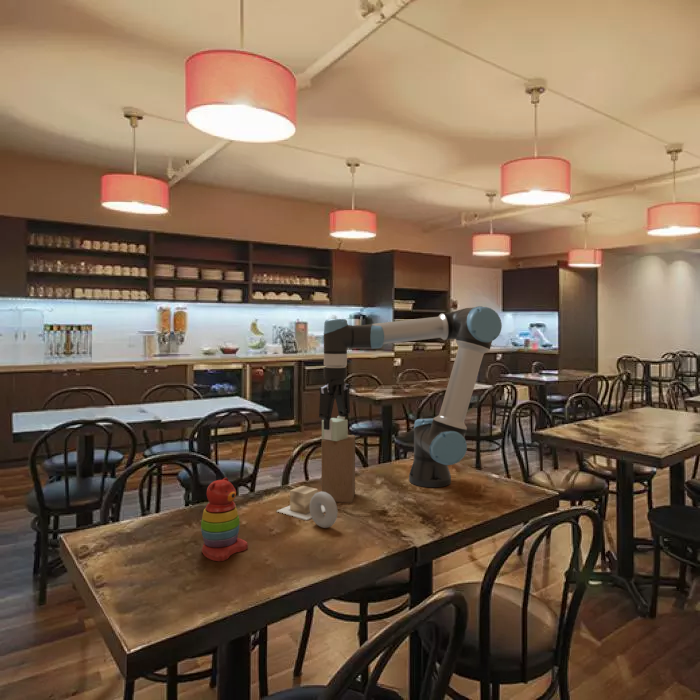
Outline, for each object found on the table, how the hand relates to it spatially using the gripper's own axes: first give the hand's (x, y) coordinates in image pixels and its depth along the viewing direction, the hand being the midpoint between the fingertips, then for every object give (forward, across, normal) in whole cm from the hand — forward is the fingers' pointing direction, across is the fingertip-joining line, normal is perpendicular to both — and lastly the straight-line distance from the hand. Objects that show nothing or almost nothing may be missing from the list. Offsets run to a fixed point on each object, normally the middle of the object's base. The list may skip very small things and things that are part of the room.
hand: (334, 437), depth 170 cm
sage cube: (0, 0, 0) cm, 0 cm away
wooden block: (+20, -2, 0) cm, 21 cm away
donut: (+20, +21, +12) cm, 32 cm away
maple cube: (+20, +14, -1) cm, 24 cm away
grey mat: (+20, +14, -1) cm, 25 cm away
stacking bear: (+21, +48, +1) cm, 52 cm away
